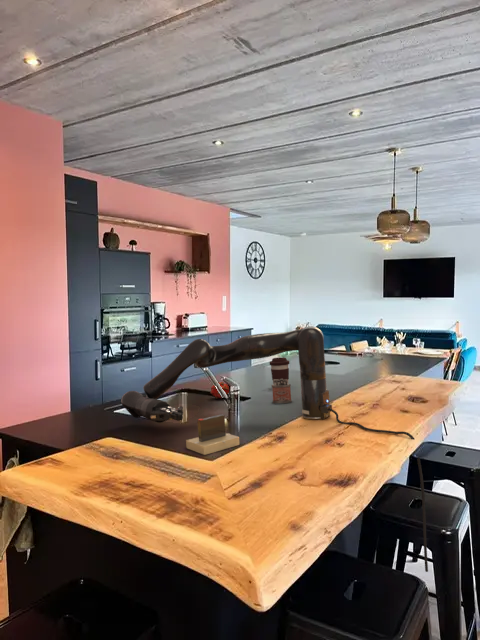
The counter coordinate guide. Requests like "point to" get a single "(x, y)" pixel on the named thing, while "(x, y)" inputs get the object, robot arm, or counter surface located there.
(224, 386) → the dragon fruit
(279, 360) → the coffee cup
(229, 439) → the beige square slab
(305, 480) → the counter surface
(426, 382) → the counter surface
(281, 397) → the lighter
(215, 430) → the dark brown block
